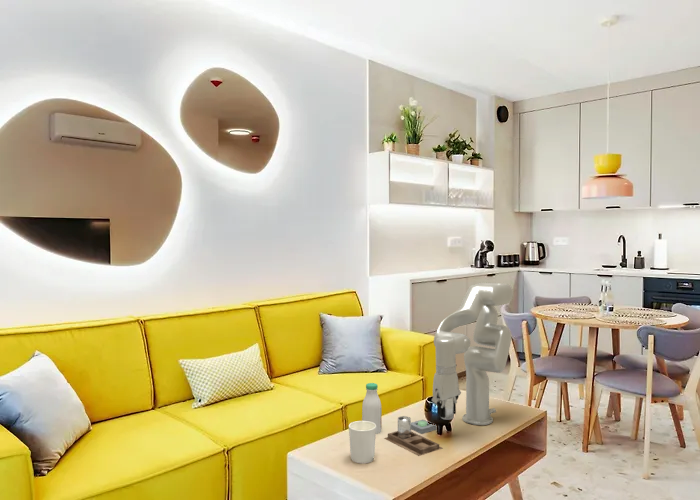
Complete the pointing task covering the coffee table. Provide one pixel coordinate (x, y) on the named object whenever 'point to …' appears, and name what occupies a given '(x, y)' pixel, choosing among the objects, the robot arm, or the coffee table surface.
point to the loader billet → (404, 427)
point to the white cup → (362, 441)
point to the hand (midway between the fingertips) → (447, 414)
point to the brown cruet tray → (414, 443)
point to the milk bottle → (372, 407)
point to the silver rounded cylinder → (448, 409)
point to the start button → (422, 423)
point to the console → (423, 429)
